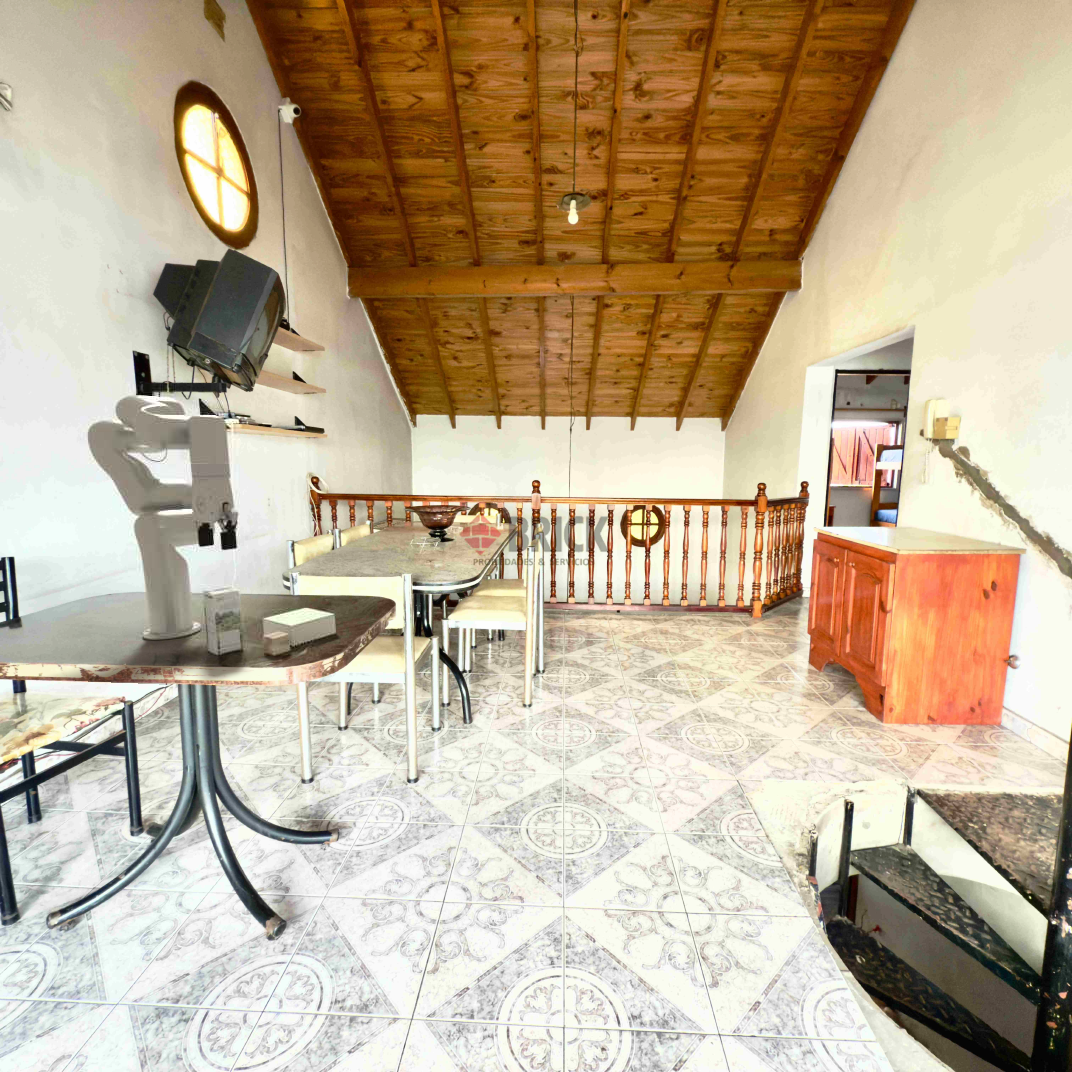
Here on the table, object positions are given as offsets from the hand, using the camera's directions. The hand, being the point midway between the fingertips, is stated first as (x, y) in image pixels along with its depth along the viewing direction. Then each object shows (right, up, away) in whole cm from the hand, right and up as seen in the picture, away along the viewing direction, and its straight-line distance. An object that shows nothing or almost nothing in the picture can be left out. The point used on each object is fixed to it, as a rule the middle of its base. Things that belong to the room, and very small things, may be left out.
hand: (217, 547), depth 128 cm
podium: (+13, -22, +13) cm, 29 cm away
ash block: (+13, -24, +2) cm, 27 cm away
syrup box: (0, -24, +3) cm, 25 cm away
